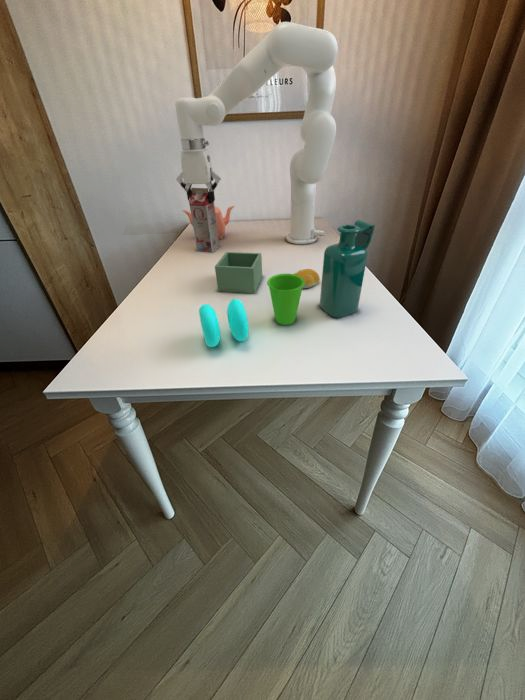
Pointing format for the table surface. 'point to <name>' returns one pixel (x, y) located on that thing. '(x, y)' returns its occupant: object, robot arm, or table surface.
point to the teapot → (217, 220)
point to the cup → (285, 296)
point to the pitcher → (345, 269)
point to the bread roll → (308, 277)
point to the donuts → (235, 319)
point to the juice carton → (203, 220)
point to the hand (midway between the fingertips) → (201, 202)
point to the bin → (239, 272)
